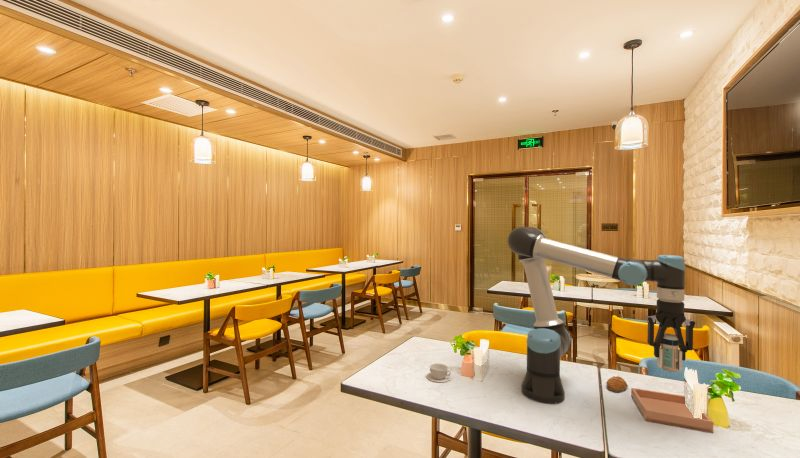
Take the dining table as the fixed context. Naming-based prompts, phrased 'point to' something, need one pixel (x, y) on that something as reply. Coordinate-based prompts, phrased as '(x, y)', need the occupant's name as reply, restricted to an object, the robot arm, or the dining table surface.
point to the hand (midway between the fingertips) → (669, 367)
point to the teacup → (439, 373)
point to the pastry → (616, 384)
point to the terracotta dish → (668, 410)
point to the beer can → (670, 352)
